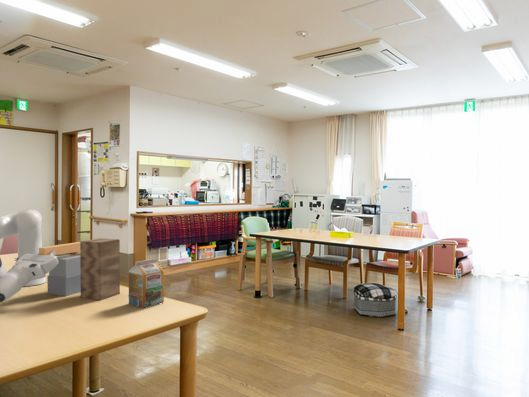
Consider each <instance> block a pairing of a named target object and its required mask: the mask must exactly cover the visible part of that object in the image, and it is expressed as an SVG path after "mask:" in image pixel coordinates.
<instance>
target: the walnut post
mask: <svg viewBox="0 0 529 397" xmlns="http://www.w3.org/2000/svg"><path fill="white" fill-rule="evenodd" d="M79 242H80V251H79V252H80V254H79V255H80V267H81V292H80V298H83V299H89V300H97V301H103V300H106V299H109V298H112V297H115V296H117V294H118V295H120V294H121V286H120V283H121V281H120V280H121V272H120V271H121V270H120V269H121V268H120V265H121V264H120V263H121V262H120V260H121V259H120V255H121V254H120V250H121V248H120V247H121V246H120V239H116V238H115V239H114V238H104V237H103V238H100V237H98V238H93V239H85V240H80V241H79Z"/></svg>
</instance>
